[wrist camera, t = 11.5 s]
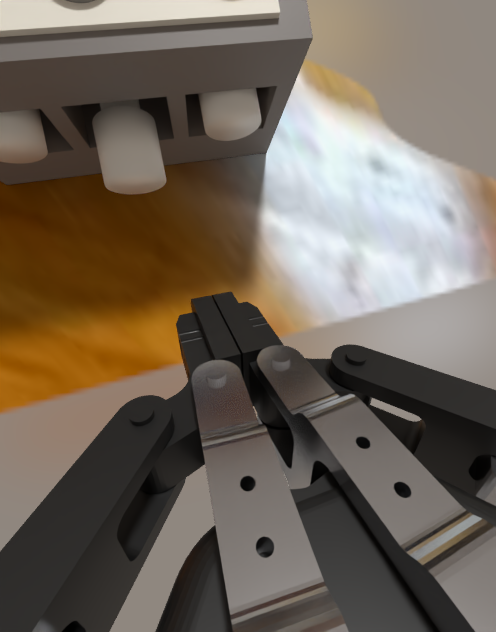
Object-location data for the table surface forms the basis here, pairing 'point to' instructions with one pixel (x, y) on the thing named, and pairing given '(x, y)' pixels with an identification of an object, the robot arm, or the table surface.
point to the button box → (145, 71)
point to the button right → (230, 113)
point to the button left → (22, 137)
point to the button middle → (128, 148)
